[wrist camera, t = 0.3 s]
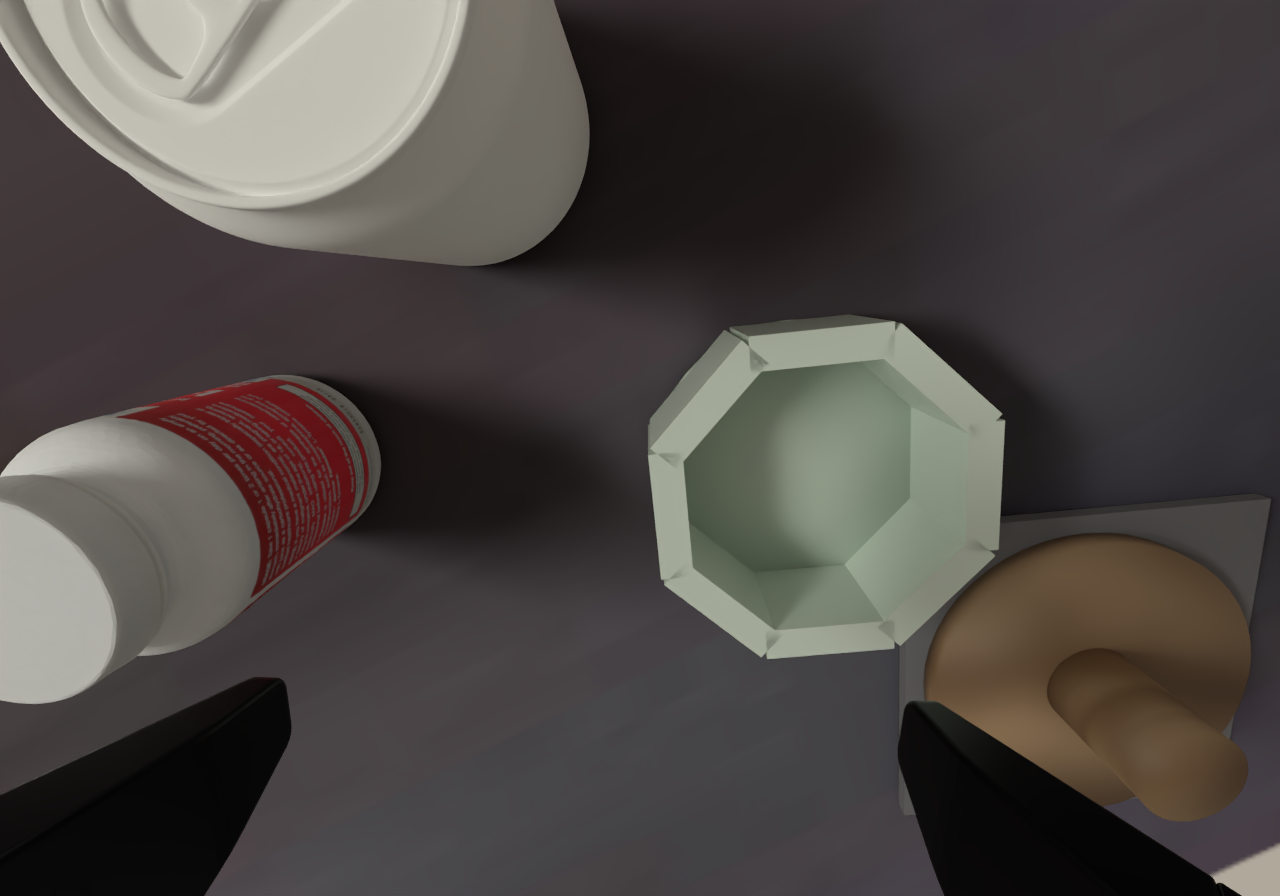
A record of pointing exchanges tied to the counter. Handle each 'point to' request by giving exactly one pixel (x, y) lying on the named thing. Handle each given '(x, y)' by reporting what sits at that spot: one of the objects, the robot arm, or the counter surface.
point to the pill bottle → (168, 524)
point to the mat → (1193, 527)
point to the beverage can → (325, 115)
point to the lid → (1103, 670)
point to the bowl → (823, 484)
